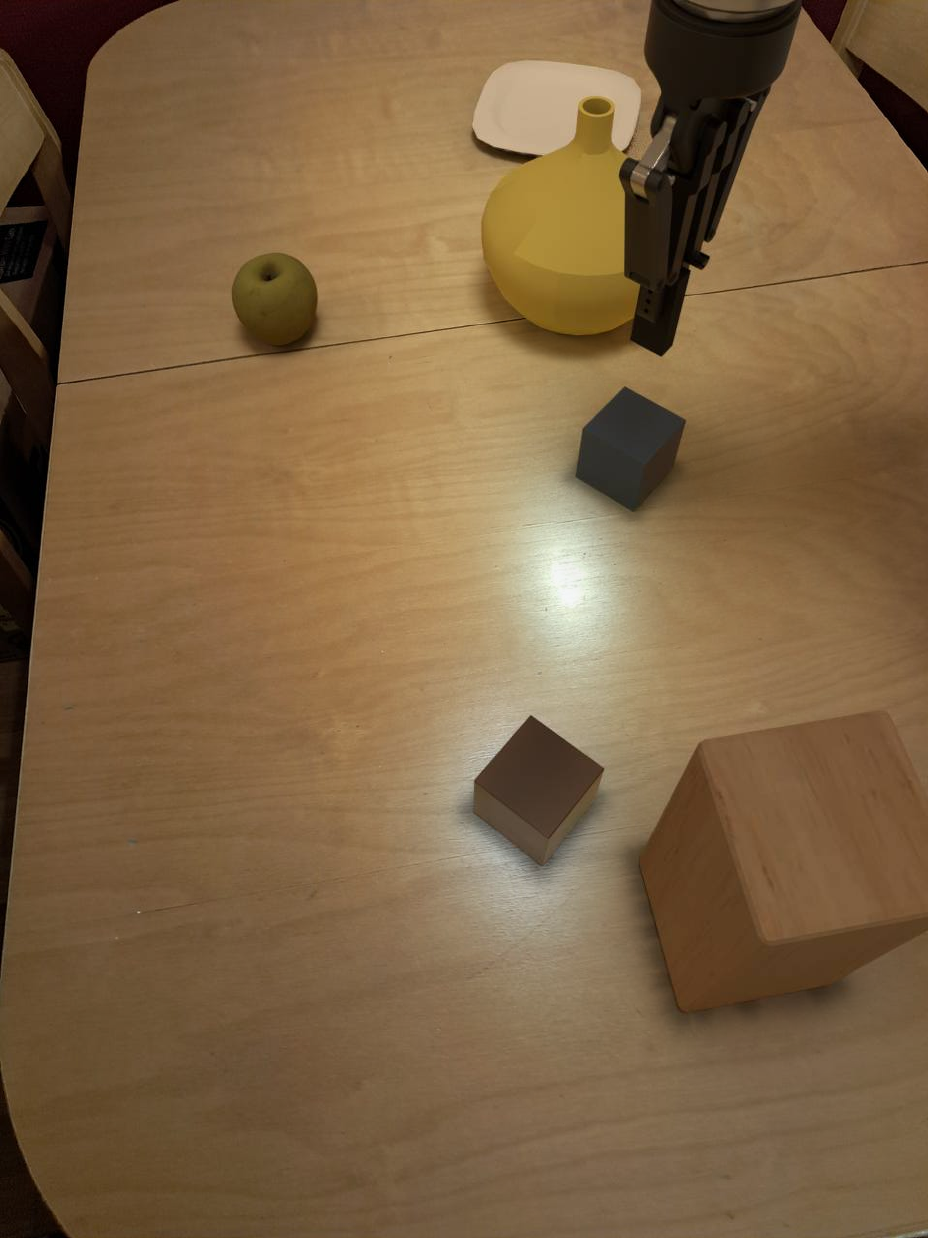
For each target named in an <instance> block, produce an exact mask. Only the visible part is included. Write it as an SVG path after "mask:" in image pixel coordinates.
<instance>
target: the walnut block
mask: <svg viewBox="0 0 928 1238" xmlns="http://www.w3.org/2000/svg"><path fill="white" fill-rule="evenodd" d="M604 771H605V767H603V766H602V765H601V764H599V763H598V762H596V761H595V760H594V759H593V758H591V757H589V756H588V755H587V754H586V753H584V752H583V751H581V750H580V749H578V748H577V747H576V746H574V745H573V744H572V743H570V742H569V741H568V740H566V739H565V738H564V737H562V736H560V735H559V734H558V733H556V731H554V730H553V729H551V728H550V727H548V726H547V725H546V724H544V723H543V722H541V720H539V719H538V718H536V717H535V716H533V715H532V714H530V715H529V716H528V717H527V718H526V719H525V720H524V721H523V722H522V724H521V725H520V726H519V727H518V728H517V730H516V731H515V732H514V733H513V734H512V735H511V737H509V739H508V740H507V741H506V742H505V744H504V745H503V746H502V747H501V749H499V751H498V752H497V753H496V754H495V755H494V757H493V758H492V759H491V760H490V761H489V762H488V764H487V765H486V766H485V767H484V768H483V769H482V770H481V772H479V774H478V775H477V776H476V777H475V778H474V780H473V813H474V814H475V815H476V816H478V817H479V818H480V819H481V820H483V821H484V822H485V823H487V824H488V825H489V826H490V827H492V828H493V829H494V830H496V831H497V832H498V833H499V834H501V835H502V836H503V837H504V838H505V839H507V840H508V841H509V842H510V843H512V844H513V845H514V846H516V847H517V848H518V849H520V850H521V851H522V852H523V853H525V854H526V855H527V856H528V857H530V858H531V859H532V860H533V861H535V862H536V863H537V864H538V865H540V866H541V867H544V866H545V865H546V863H547V862H548V861H549V859H550V858H551V857H552V856H553V854H554V853H555V852H556V851H557V849H558V848H559V846H561V844H562V843H563V842H564V841H565V839H566V838H567V836H568V835H569V834H570V833H571V832H572V830H573V829H574V827H576V825H577V824H578V822H579V821H580V820H581V819H582V818H583V816H584V815H585V813H586V812H587V811H588V810H589V809H590V807H591V806H592V805H593V804H594V802H595V800H596V796H597V793H598V790H599V787H600V784H601V781H602V778H603V775H604Z"/></svg>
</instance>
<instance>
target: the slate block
mask: <svg viewBox="0 0 928 1238" xmlns="http://www.w3.org/2000/svg"><path fill="white" fill-rule="evenodd" d="M686 423H687V419H685V418H684V417H682V416H680V415H679V414H676V413H675V412H673V411H671V410H669V409H668V408H665V406H662V405H660V404H658V403H656V402H654V401H653V400H651V399H649V398H647V397H645V396H643V394H640V393H638V392H636V391H635V390H633V389H631V388H629V387H627V386H626V385H625V386H623V387H622V388H621V389H620V390H619V391H618V392H617V393H616V394H615V395H614V396H613V397H612V398H611V399H610V400H609V401H608V402H607V403H606V404H605V405H604V406H603V408H601V410H599V412H597V413H596V414H595V415H594V416H593V418H591V419H590V420H589V422H587V423H586V425H585V426H583V428H582V431H581V437H580V444H579V451H578V456H577V457H578V458H577V464H576V465H577V466H576V470H575V471H576V472H575V478H577V479H579V480H580V481H582V482H584V483H586V484H587V485H588V486H590V487H592V488H594V489H595V490H597V491H599V492H600V493H602V494H604V495H605V496H607V497H609V498H610V499H611V500H614V501H615V502H617V503H619V504H620V505H622V506H624V507H625V508H627V509H629V510H630V511H632V512H635V511H636V510H637V509H638V508H639V507H640V506H641V504H643V502H644V501H645V500H646V499H647V498H648V497H649V496H650V494H651V493H652V492H653V491H655V489H656V488H657V487H658V486H659V485H660V483H661V482H662V481H664V479H665V478H666V477H667V476H668V475H669V474H670V473H671V471H672V470H673V469H674V466H675V464H676V463H675V462H676V460H677V459H676V458H677V455H678V452H679V447H680V444H681V441H682V437H683V435H684V431H685V428H686V427H685V426H686Z"/></svg>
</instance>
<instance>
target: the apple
mask: <svg viewBox="0 0 928 1238" xmlns="http://www.w3.org/2000/svg"><path fill="white" fill-rule="evenodd" d="M318 295H319V294H318V287H317V283H316V281H315V278H314V276H313V274H312V273H311V271H310V270H309V268H307V266H306V265H305V264H304V263H303V262H302V261H301V260H299V259H298V258H296V257H295V256H292V255H289V254H286V253H283V252H269V253H265V254H261V255H258V256H255V257H253V258H251V259H249V260H248V261H246V262H245V263H243V264H242V265H241V267H240V268H239V269H238V271H237V272H236V274H235V277H234V279H233V282H232V287H231V303H232V306H233V310H234V313H235V315H236V317H237V319H238V320H239V322H240V324H241V325H242V326H243V328H244V329H245V330H246V331H247V332H248V333H249V334H250V335H251V336H252V337H254V338H255V339H257V340H258V341H260V342H261V343H263V344H268V345H271V346H284V345H288V344H291V343H294V342H295V341H298V340H299V339H301V338H302V337H303V336H304V335H305V334H306V333H307V332H308V330H309V329H310V327H311V325H312V324H313V321H314V319H315V317H316V314H317V309H318V302H319V301H318V300H319V297H318Z"/></svg>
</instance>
